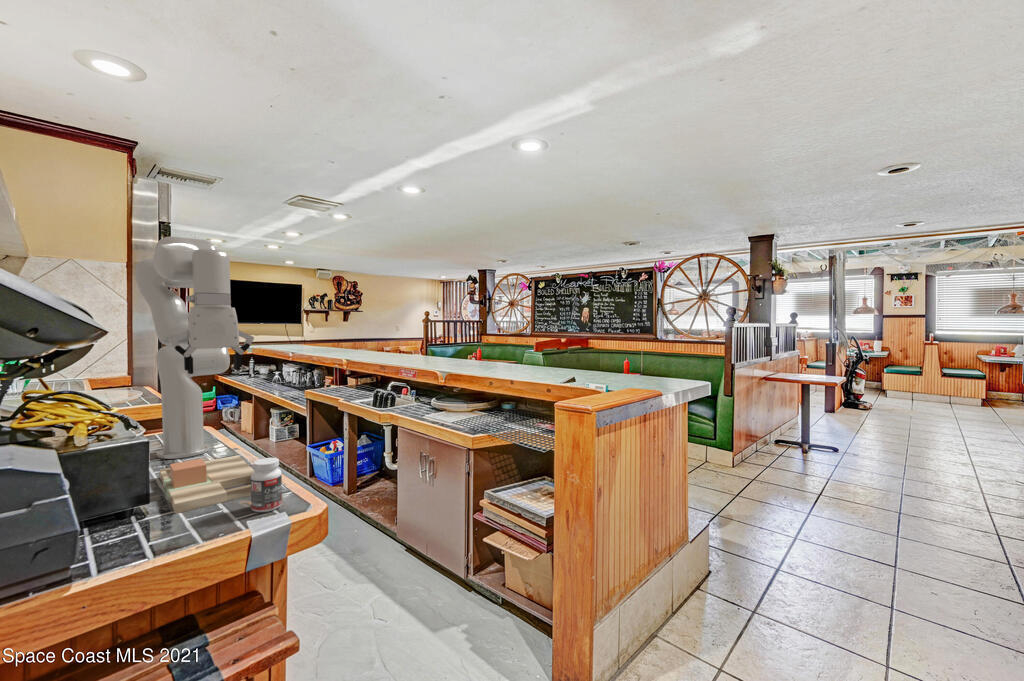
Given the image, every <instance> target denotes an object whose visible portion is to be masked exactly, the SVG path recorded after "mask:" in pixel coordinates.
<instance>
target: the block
mask: <svg viewBox="0 0 1024 681" xmlns="http://www.w3.org/2000/svg"><path fill="white" fill-rule="evenodd" d="M169 468H170V479H171V483H172V485H173V487H174V489H175V488H180V487H184V486H189V485H194V484H199V483H204V482H207V473H206V464H205V463H204V459H202V458H196V459H191V460H186V461H180V462H175V463H169Z"/></svg>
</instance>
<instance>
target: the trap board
mask: <svg viewBox="0 0 1024 681" xmlns="http://www.w3.org/2000/svg"><path fill="white" fill-rule="evenodd" d="M203 461H204V460H203ZM204 463H205V464H206V473H207V482H204V483H199V484H194V485H189V486H184V487H180V488H175V489H174V487H173V485H172V483H171V479H170V467H166V468H161V469H159V472H158V473H159V479H160V481H162V482H161V484H162V483H163V484H162V486H163V488H165V489H164V491H165V490H166V491H165V493H166V496H167V495H168V496H167V498H168V500H169V502H170V505H171V507H172V509H173V511H174V514H180V513H183V512H184V513H185V512H187V511H192V510H196V509H200V508H201V509H202V508H205V507H208V506H213V505H218V504H221V503H226V502H230V501H234V500H238V498H239V499H243V498H247V497H249V496H250V497H251V475H252V473H253V472H255V470H254V468H252V466H250V465H249V464H248V463H247V461H245V460H244V459H243V458H242V457H241V456H240V455H239V454H237V455H234V456H228V457H220V458H216V459H211V460H206V461H204ZM242 497H243V498H242Z"/></svg>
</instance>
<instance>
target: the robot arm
mask: <svg viewBox="0 0 1024 681" xmlns="http://www.w3.org/2000/svg"><path fill="white" fill-rule="evenodd" d="M230 264H231V262H230V256H229V253H228V252H226V251H224V250H218V249H217V248H216V246H215V245H214V244H213V243H212V242H211V241H209V240H205V239H199V238H192V237H191V238H190V237H182V236H166V237H163V238H161V239H160V240H158V241H157V242H156V243H155V246H154V252H153V256H152V258H146V259H145V258H144V259H142V260H140V261H138V262H137V264H136V266H135V271H134V273H135V280H136V285H137V288H138V291H139V292H140V294H141V296H142V297H143V299H144V301H145V302H146V303H147V305H148V306H149V308H150V312H151V317H152V321H153V324H154V329H155V330H154V331H155V333H156V334H155V335H156V336H157V339H158V341H159V342H160V343H161V344H163V345H164V346H162V347H161V348H159V349H158V350H157V351H156V355H155V363H156V368H157V372H158V376H159V377H158V378H159V381H160V382H159V383H160V394H161V396H160V398H161V417H162V419H161V420H162V444H163V446H162V448H160V449H159V450H157V452H156V457H157V458H159V459H163V460H167V459H168V460H174V459H175V460H176V459H184V458H189V457H195V456H199V455H202V454H205V453H207V452H209V451H210V450H211V444H210V443H207V442H205V441H204V440H205V439H204V412H203V411H204V407H203V406H204V405H203V404H204V403H203V402H204V401H203V390H202V388H201V387H200V386H199V384H198V383H197V382H195V381H194V380H193V379H192V378H193V377H198V376H210V375H218V374H219V375H220V374H223V373H225V372H226V371H227V370H228V369H229V368H230V366H231V365H230V363H231V358H230V352H229V349H230V348H231V349H232V350H233V351H234V354H233V370H235V371H237V372H239V371H241V368H242V367H243V355H244V354H245V352H246V351H247V350H249V348H250V347H251V345H252V343H253V341H254V339H255V336H253V335H251V334H249V333H246V332H243V331H242V330H239V321H238V315H237V311H236V308H235V307H232V305H231V304H232V300H231V298H232V297H231V296H232V295H231V265H230ZM169 288H182V289H183V288H184V289H192V292H193V293H192V294H191V295H186V296H185V301H184V300H183V299H182V298H181V297H180V296H179V295H178V294H177V293H176V292H173V291H172V290H170V289H169ZM186 302H188V303H191V304H192V305H193V306H190V307H189V312H188V309H187V306H186ZM240 338H243V339H245V340H244V343H243V344H242V345H241V346H240Z"/></svg>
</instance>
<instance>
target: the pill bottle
mask: <svg viewBox="0 0 1024 681" xmlns="http://www.w3.org/2000/svg"><path fill="white" fill-rule="evenodd" d="M252 464H253V468H252V469H253V470H254V471H255V472H253V473H252V475H251V496H250V506H251V507H250V508H251V510H252V511H253V512H255V513H269V512H271V511H275V510H277V509H279V508H280V507H281V506H282V503H283V488H282V486H283V484H282V483H283V481H282V479H283V478H282V477H283V476H282V470H281V469H280V468H279V465H280V460H279V458H277V457H265V458H260V459H256V460H255V461H253V463H252Z"/></svg>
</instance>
